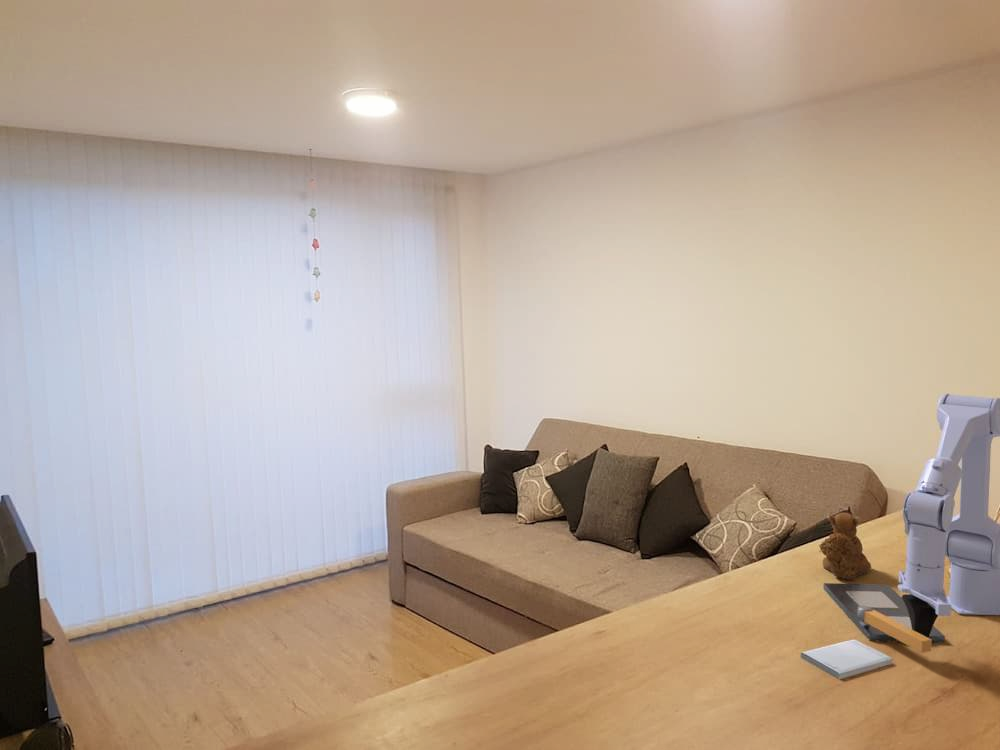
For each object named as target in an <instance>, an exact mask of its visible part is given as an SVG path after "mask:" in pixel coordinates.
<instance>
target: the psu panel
mask: <svg viewBox="0 0 1000 750" xmlns="http://www.w3.org/2000/svg"><path fill="white" fill-rule="evenodd" d="M823 590H824V591H825V592H826V593H827V595H829V597H830V598H831V599H832V600H833V601H834V603H835V604H836V605H837V606H838V607H839V608H840V609H841V610H842V611H843V613H844V614H845V615H846V616H847V617H848V619H850V620H851V621H852V623H853V624H854V625H855V626H856V628H858V629H859V631H860V630H861V634H862V635H864V636H865V638H867V639H869V640H878V641H877V642H900V641H899V640H897V639H895V638H893V637H892V636H890V635H888V634H886V633H884V632H882V631H880V630H879V629H877V628H875V627H873V626H871V625H869V624H868V623H866V622H864V621H860V620H859V619H858V618H857V615H858V606H868V607H871V608H873V610H875V611H877V612H879V613H881V614H883V615H885V616H887V617H889V618H891V619H893V620H894V621H896V622H898V623H900V624H902V625H904V626H906V627H908V628H910V629H912V626H911V621H910V616H909V613H908V610H907V607H906V605H905V603H904V601H903V599H902V595H900V594H898V592H896V591H895V590H894V589H893V588H892V587H891V586H889V585H888V584H879V583H878V584H875V583H836V582H835V583H832V582H830V583H828V582H824V583H823ZM929 639H931V640H932V643H939V642H946V635H944V634H943V633H942V632H941V631H940V630H939V629H938V628H937V627H936V626H934V625H933V627H932V630H931V633H930V635H929ZM869 640H868V641H869ZM879 640H880V641H879Z"/></svg>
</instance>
